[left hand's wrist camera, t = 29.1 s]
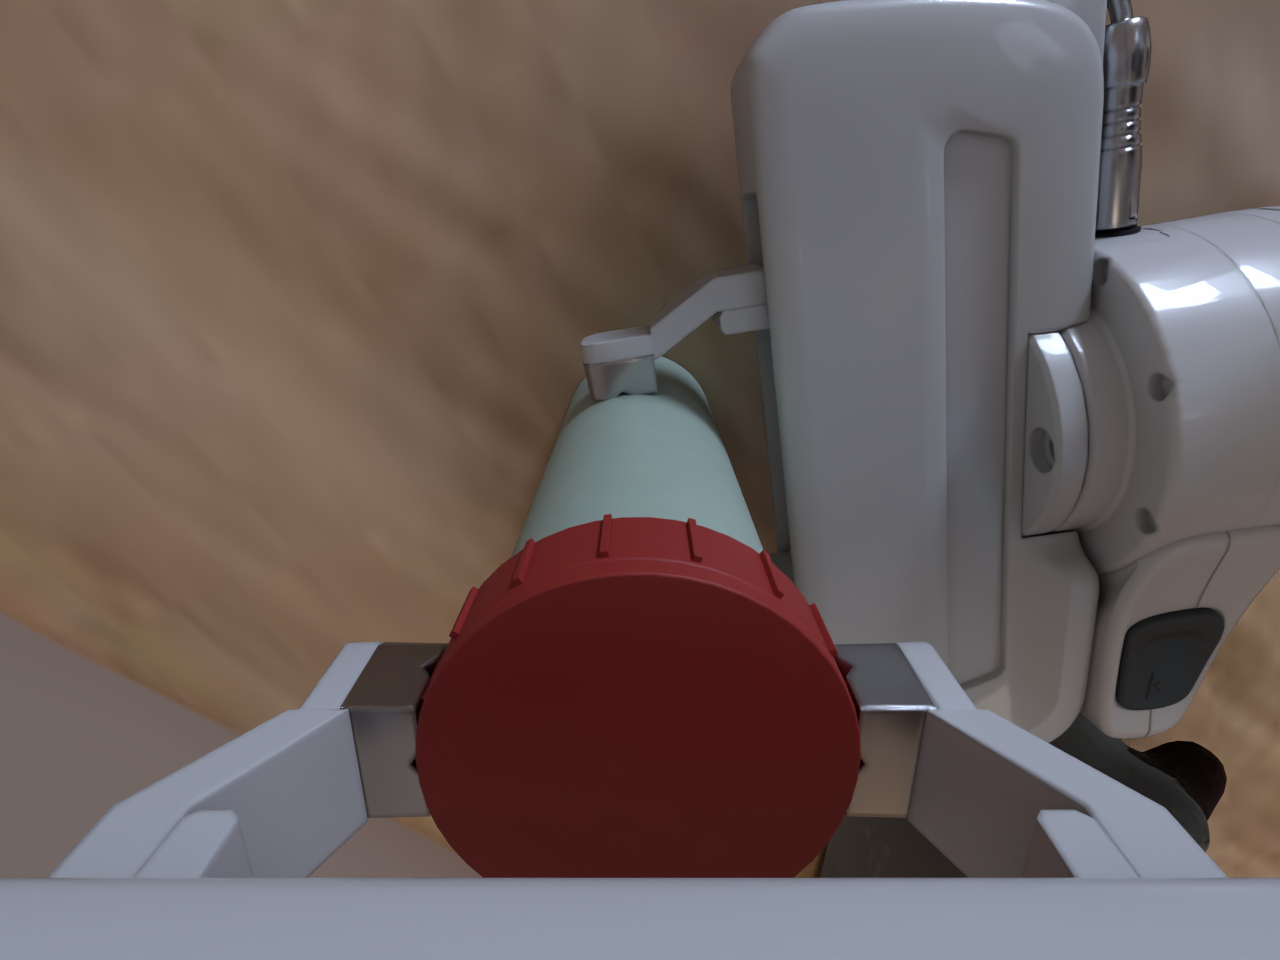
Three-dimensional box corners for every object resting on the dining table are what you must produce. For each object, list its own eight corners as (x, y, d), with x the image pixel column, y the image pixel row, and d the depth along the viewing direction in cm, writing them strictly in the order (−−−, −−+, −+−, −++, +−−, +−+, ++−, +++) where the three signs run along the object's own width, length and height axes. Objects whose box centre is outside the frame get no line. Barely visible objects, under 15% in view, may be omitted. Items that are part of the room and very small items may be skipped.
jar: (666, 512, 25) (700, 893, 11) (544, 450, 24) (408, 774, 10) (736, 396, 24) (885, 660, 9) (609, 325, 23) (558, 498, 8)
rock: (1012, 993, 34) (1116, 1209, 26) (786, 973, 33) (827, 1187, 26) (1152, 681, 28) (1341, 848, 20) (876, 651, 27) (965, 812, 20)
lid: (868, 780, 11) (906, 872, 9) (533, 868, 12) (518, 969, 10) (771, 457, 9) (799, 505, 8) (379, 585, 10) (329, 654, 8)
